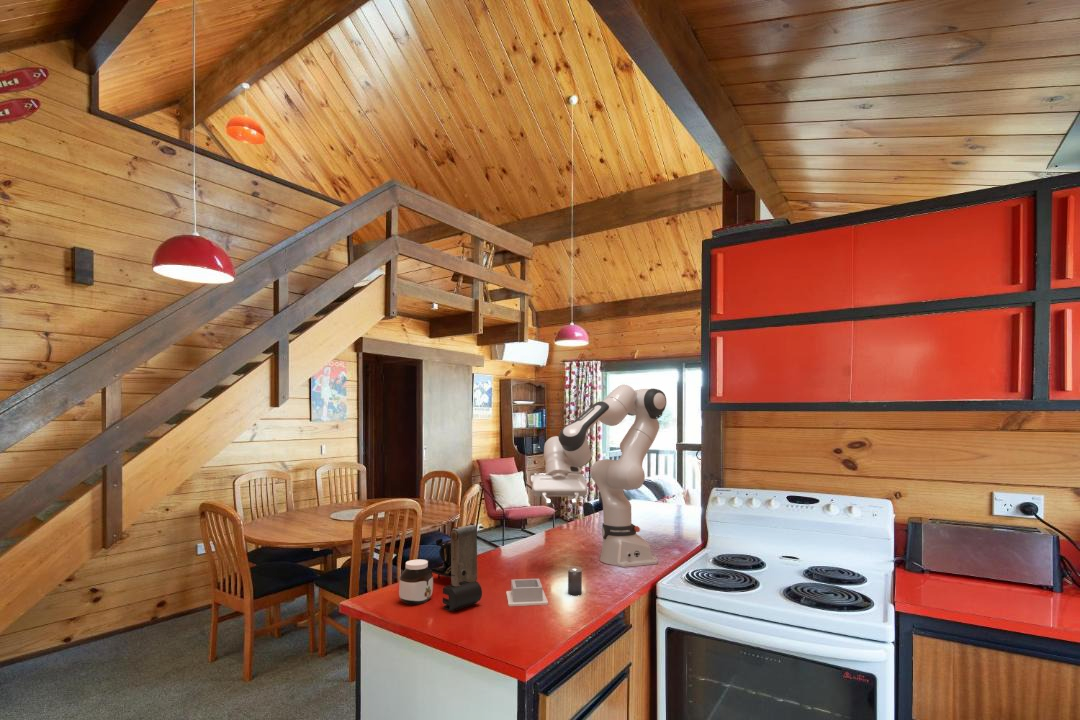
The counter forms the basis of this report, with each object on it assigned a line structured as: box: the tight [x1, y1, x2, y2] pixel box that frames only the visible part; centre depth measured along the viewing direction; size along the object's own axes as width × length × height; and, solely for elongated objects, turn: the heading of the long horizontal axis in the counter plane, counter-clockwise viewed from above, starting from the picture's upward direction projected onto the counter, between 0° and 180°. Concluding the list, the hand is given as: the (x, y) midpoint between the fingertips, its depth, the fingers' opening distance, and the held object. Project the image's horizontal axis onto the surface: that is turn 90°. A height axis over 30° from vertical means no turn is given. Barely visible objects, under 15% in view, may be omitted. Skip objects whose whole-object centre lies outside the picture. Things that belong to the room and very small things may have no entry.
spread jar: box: [398, 558, 434, 606], centre depth 169 cm, size 12×11×12 cm
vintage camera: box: [430, 522, 478, 586], centre depth 186 cm, size 10×15×20 cm, turn 54°
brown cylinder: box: [567, 565, 583, 597], centre depth 174 cm, size 4×4×8 cm
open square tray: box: [505, 578, 549, 607], centre depth 169 cm, size 12×12×5 cm
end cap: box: [442, 581, 483, 612], centre depth 162 cm, size 10×7×7 cm
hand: (561, 504), depth 191 cm, fingers open, 8 cm apart
